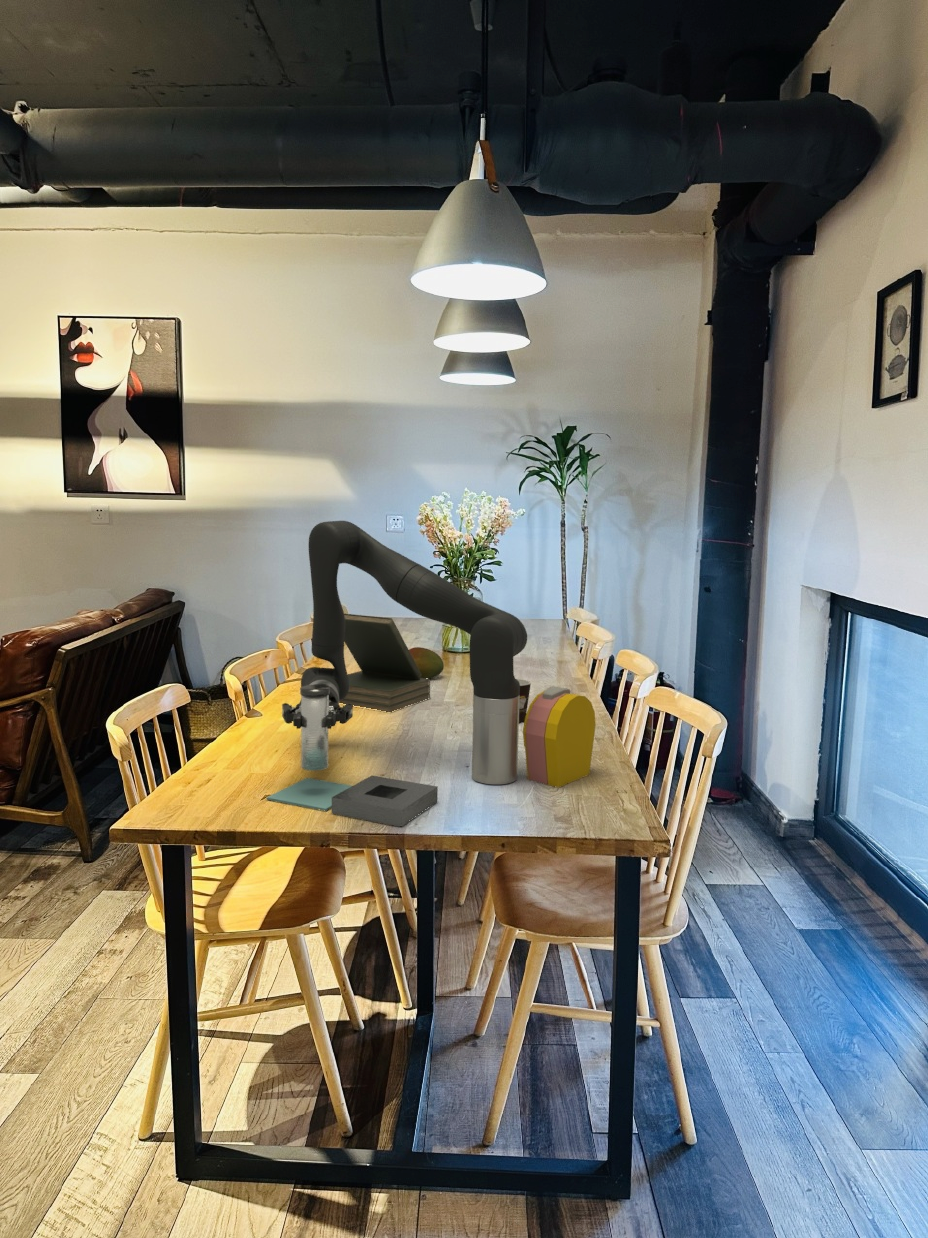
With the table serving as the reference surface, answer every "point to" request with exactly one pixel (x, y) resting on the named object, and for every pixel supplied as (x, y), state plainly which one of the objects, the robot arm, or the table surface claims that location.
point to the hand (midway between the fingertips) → (314, 723)
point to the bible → (381, 666)
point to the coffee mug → (523, 698)
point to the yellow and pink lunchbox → (558, 737)
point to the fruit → (427, 662)
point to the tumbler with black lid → (314, 727)
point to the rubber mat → (310, 793)
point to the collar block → (384, 800)
